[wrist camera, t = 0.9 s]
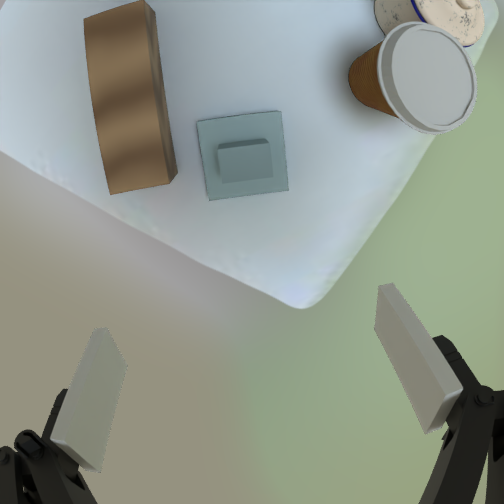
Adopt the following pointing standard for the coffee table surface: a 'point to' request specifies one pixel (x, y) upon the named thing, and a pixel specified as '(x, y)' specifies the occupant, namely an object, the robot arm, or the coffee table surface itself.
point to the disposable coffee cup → (417, 78)
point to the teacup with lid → (435, 16)
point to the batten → (129, 98)
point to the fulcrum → (243, 155)
